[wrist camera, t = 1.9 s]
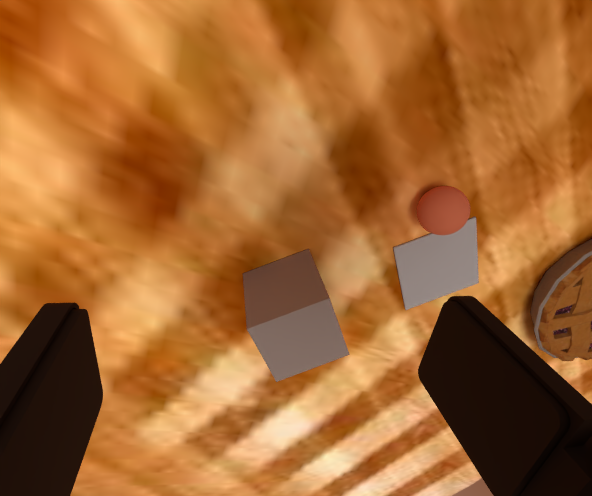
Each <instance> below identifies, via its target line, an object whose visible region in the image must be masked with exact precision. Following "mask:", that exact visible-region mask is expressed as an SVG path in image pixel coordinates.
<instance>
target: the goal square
mask: <svg viewBox="0 0 592 496" xmlns="http://www.w3.org/2000/svg"><path fill="white" fill-rule="evenodd" d="M393 250H394V255H395V260H396V265H397V270H398V275H399V280H400V285H401V291H402V296H403V301H404V306H405V310H407V309H410V308H413V307H415V306H418V305H421V304H423V303H426V302H429V301H432V300H434V299H437V298H440V297H442V296H445V295H448V294H450V293H453V292H456V291H458V290H461V289H464V288H466V287H469V286H472V285H474V284H477V283H479V281H478V255H477V230H476V217H473V218H470V219H468V220H467V222H466V224H465V225H464V226H463V227H462V228H461V229H460V230H458V231H457V232H455V233H452V234H449V235H436V234H433V233H430V234H428V235H425V236H422V237H420V238H417V239H414V240H412V241H409V242H406V243H404V244H401V245H398V246H396V247H393Z"/></svg>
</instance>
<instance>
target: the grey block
mask: <svg viewBox="0 0 592 496" xmlns="http://www.w3.org/2000/svg"><path fill="white" fill-rule="evenodd" d="M243 283H244V297H245V310H246V324H247V330H248V332H249V334H250V336H251V337H252V339H253V341H254V343H255V344H256V346H257V348H258V350H259V352H260V353H261V355H262V357H263V359H264V360H265V362H266V364H267V366H268V368H269V369H270V371H271V373H272V375H273V376H274V378H275V380H276V382H277V381H280V380H282V379H285V378H288V377H291V376H293V375H296V374H299V373H301V372H304V371H307V370H309V369H312V368H315V367H317V366H320V365H323V364H325V363H328V362H331V361H333V360H336V359H339V358H342V357H344V356H347V355H349V352H348V349H347V346H346V343H345V341H344V338H343V335H342V332H341V329H340V326H339V324H338V321H337V318H336V315H335V312H334V309H333V307H332V304H331V301H330V298H329V296H328V293H327V291H326V289H325V286H324V284H323V282H322V279H321V277H320V274H319V272H318V270H317V267H316V265H315V263H314V260H313V258H312V255H311V253H310V251H309V249H307V250H304V251H301V252H299V253H296V254H294V255H291V256H288V257H286V258H283V259H280V260H278V261H275V262H272V263H270V264H267V265H264V266H262V267H259V268H256V269H254V270H251V271H248V272H246V273H243Z"/></svg>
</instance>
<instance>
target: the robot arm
mask: <svg viewBox="0 0 592 496" xmlns="http://www.w3.org/2000/svg"><path fill="white" fill-rule="evenodd" d="M418 374H419V378H420V381H421V382H422V384H423V386H424V387H425V389H426V390H427V392H428V393H429V395H430V397H431V398H432V400H433V401H434V403H435V404H436V406H437V408H438V409H439V411H440V412H441V414H442V415H443V417H444V419H445V420H446V422H447V423H448V425H449V426H450V428H451V430H452V431H453V433H454V434H455V436H456V437H457V439H458V441H459V442H460V444H461V445H462V447H463V448H464V450H465V452H466V453H467V455H468V456H469V458H470V460H471V461H472V463H473V464H474V466H475V467H476V469H477V471H478V472H479V474H480V475H481V477H482V478H483V480H484V481H485V483H486V485H487V486H488V488H489V489H490V491H491V492H492V494H493V495H494V496H592V404H591V403H590V402H589V401H587V400H586V399H585V398H584V397H583V396H582V395H581V394H580V393H579V392H578V391H576V390H575V389H574V388H573V387H572V386H571V385H570V384H569V383H568V382H567V381H566V380H564V379H563V378H562V377H561V376H560V375H559V374H558V373H557V372H556V371H555V370H553V369H552V368H551V367H550V366H549V365H548V364H547V363H546V362H545V361H544V360H543V359H541V358H540V357H539V356H538V355H537V354H536V353H535V352H534V351H533V350H532V349H530V348H529V347H528V346H527V345H526V344H525V343H524V342H523V341H522V340H521V339H520V338H518V337H517V336H516V335H515V334H514V333H513V332H512V331H511V330H510V329H509V328H507V327H506V326H505V325H504V324H503V323H502V322H501V321H500V320H499V319H498V318H497V317H495V316H494V315H493V314H492V313H491V312H490V311H489V310H488V309H487V308H486V307H485V306H483V305H482V304H481V303H480V302H479V301H478V300H477V299H476V298H474V297H472V296H453V297H450V298H449V299H448V301H447V302H445V303H444V305H443V307H442V309H441V312H440V314H439V317H438V319H437V322H436V325H435V327H434V330H433V332H432V335H431V337H430V340H429V343H428V345H427V348H426V350H425V353H424V355H423V358H422V360H421V363H420V366H419V369H418ZM102 399H103V389H102V384H101V379H100V373H99V368H98V363H97V358H96V352H95V347H94V342H93V337H92V332H91V326H90V321H89V316H88V312H87V310H86V309H79V306H78V305H77V303H47V304H45V305H44V306H43V307H42V308H41V309H40V311H39V312H38V313H37V315H36V316H35V317H34V319H33V320H32V321H31V323H30V324H29V326H28V327H27V328H26V330H25V331H24V332H23V334H22V335H21V337H20V338H19V339H18V341H17V342H16V343H15V345H14V346H13V347H12V349H11V350H10V352H9V353H8V354H7V356H6V357H5V358H4V360H3V361H2V363H1V364H0V496H70V494H71V492H72V489H73V486H74V483H75V480H76V477H77V474H78V471H79V469H80V466H81V463H82V460H83V457H84V454H85V451H86V448H87V445H88V443H89V440H90V437H91V434H92V431H93V428H94V425H95V422H96V419H97V417H98V414H99V411H100V408H101V404H102Z"/></svg>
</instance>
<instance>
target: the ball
mask: <svg viewBox="0 0 592 496" xmlns="http://www.w3.org/2000/svg"><path fill="white" fill-rule="evenodd" d="M469 215H470V204H469V201H468V199H467V197H466V196H465V195H464V194H463V193H462V192H461V191H460V190H458V189H456V188H454V187H450V186H440V187H436V188H433V189H431V190H429V191H428V192H426V193H425V194H424V195H423V196H422V198H421V199H420V201H419V203H418V207H417V217H418V220H419V222H420V224H421V225H422V226H423V228H424V229H426V230H427V231H428V232H430V233H433V234H436V235H449V234H452V233H455V232H457V231H458V230H460V229H461V228H462V227H463V226H464V225H465V224H466V222H467V220H468V218H469Z"/></svg>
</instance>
